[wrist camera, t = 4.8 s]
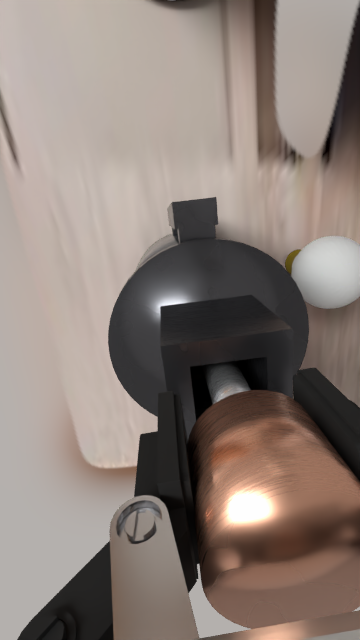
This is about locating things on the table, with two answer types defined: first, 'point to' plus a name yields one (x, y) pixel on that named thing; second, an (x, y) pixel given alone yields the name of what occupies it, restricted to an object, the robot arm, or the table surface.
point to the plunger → (271, 508)
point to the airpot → (205, 315)
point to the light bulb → (327, 271)
